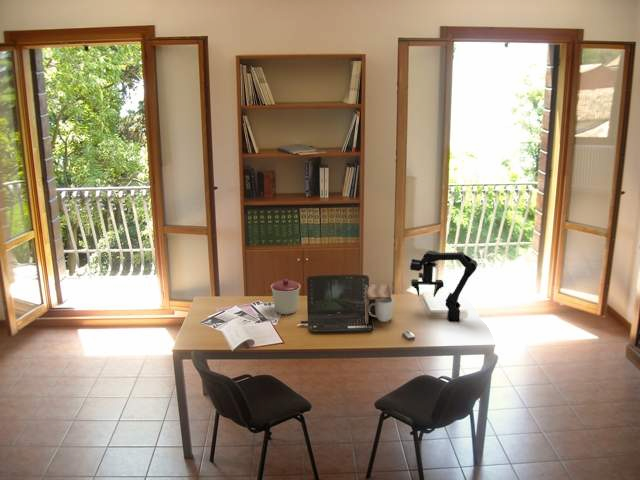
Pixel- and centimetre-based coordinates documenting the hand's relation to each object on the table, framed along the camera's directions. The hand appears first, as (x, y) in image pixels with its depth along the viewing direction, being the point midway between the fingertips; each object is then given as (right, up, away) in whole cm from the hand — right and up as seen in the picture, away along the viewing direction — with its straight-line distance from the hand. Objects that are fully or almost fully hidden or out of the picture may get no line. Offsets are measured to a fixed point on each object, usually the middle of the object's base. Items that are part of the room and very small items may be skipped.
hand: (426, 296), depth 365 cm
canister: (-85, -10, +8) cm, 86 cm away
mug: (-27, -14, -3) cm, 31 cm away
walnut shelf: (-30, -13, -3) cm, 33 cm away
